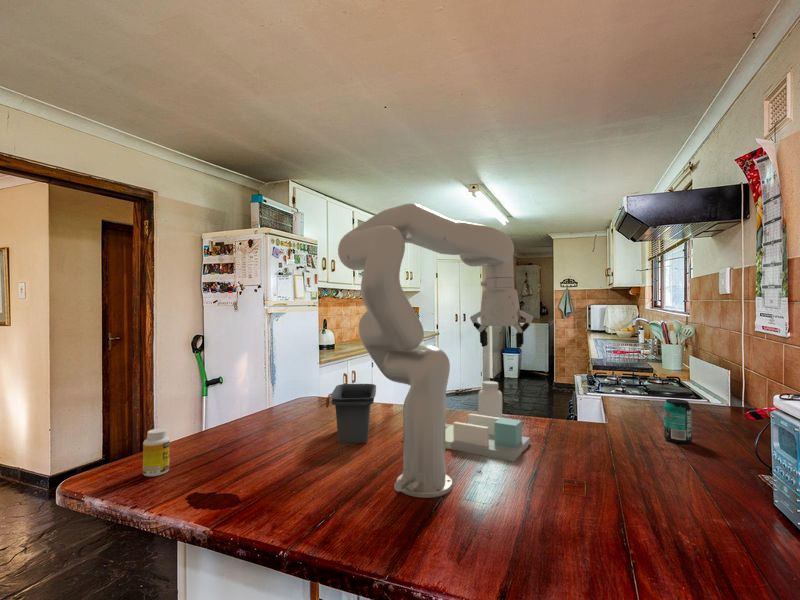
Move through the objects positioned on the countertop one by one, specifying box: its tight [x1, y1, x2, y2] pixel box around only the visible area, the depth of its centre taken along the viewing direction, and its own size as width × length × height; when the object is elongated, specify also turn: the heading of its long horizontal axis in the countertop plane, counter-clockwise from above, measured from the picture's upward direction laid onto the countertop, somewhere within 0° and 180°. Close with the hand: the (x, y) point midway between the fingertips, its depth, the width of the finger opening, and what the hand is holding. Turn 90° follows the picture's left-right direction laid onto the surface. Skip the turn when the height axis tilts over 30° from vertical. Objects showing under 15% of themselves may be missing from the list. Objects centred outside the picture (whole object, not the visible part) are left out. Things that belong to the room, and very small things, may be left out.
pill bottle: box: [477, 380, 503, 418], centre depth 138 cm, size 8×8×15 cm
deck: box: [445, 413, 531, 463], centre depth 122 cm, size 16×34×7 cm, turn 58°
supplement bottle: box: [142, 427, 171, 477], centre depth 100 cm, size 6×6×10 cm
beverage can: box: [663, 398, 693, 445], centre depth 123 cm, size 7×7×12 cm
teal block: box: [494, 417, 523, 448], centre depth 115 cm, size 6×6×6 cm
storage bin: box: [325, 383, 377, 444], centre depth 129 cm, size 21×16×14 cm
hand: (501, 346), depth 113 cm, fingers open, 9 cm apart
